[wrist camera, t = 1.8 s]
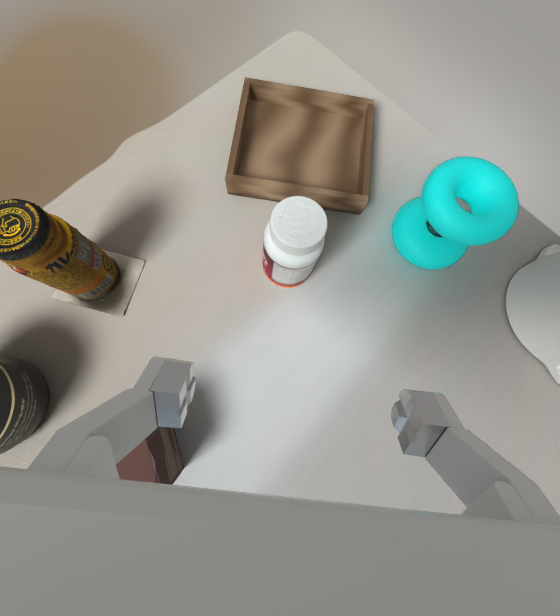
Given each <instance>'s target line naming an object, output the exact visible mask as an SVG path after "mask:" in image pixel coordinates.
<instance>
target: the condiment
mask: <svg viewBox="0 0 560 616" xmlns="http://www.w3.org/2000/svg"><path fill="white" fill-rule="evenodd" d="M0 260H1V261H3V262H5V263H6V264H7V265H8V266H9V267H10V268H12V269H13V270H14V271H16V272H18V273H20V274H23V275H25V276H27V277H29V278H32V279H34V280H37V281H39V282H42V283H44V284H46V285H49V286H51V287H53V288H56V290H55V292H54V294H53V296H52V298H53V299H57V300H61V301H64V302H68V303H72V304H76V305H79V306H83V307H87V308H91V309H95V310H98V311H102V312H106V313H110V314H114V315H117V316H121V317H122V316H123V314H124V311H125V310H126V307H127V305H128V303H129V300H130V298H131V296H132V293H133V291H134V288H135V286H136V284H137V281H138V278H139V275H140V273H141V271H142V268H143V265H144V263H145V261H144V260H141V259H137V258H133V257H130V256H125V255H122V254H118V253H114V252H110V251H106V250H103V249H101V248H99V247H98V246H97V245H96V244H95V243H93V242H92V241H90V240H89V239H87V238H86V237H85V236H83V235H82V234H81V233H80V232H79V231H78V230H77V229H76V228H74V227H72V226H71V225H69V224H68V223H67V222H66V221H64V220H63V219H61V218H59V217H57V216H55V215H52V214H49V213H47V212H45V211H44V210H43V209H42V208H40V207H39V206H37V205H36V204H34V203H31V202H28V201H25V200H20V199H11V200H3V201H0ZM120 270H122V271H120ZM122 272H124V274H123V273H122ZM102 300H103V301H102Z"/></svg>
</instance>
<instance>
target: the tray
mask: <svg viewBox="0 0 560 616" xmlns="http://www.w3.org/2000/svg"><path fill="white" fill-rule="evenodd" d="M373 115H374V100H373V99H367V98H361V97H356V96H350V95H344V94H338V93H333V92H327V91H321V90H315V89H309V88H304V87H298V86H292V85H286V84H280V83H275V82H269V81H263V80H257V79H251V78H246V77H245V80H244V85H243V90H242V96H241V101H240V106H239V111H238V116H237V121H236V126H235V132H234V137H233V142H232V147H231V152H230V157H229V162H228V167H227V173H226V178H225V180H226V186H227V192H228V194H231V195H238V196H244V197H251V198H257V199H264V200H270V201H277V202H281V201H282V200H284V199H286V198H288V197H292V196H303V197H307V198H310V199H312V200H314V201H315V202H317V203H318V204H319V205H320V206H321V207H322V209H328V210H335V211H341V212H348V213H354V214H361V212H362V211H363V209H364V207H365V206H366V204H367V203H368V199H369V182H370V166H371V149H372V132H373Z"/></svg>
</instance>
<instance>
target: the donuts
mask: <svg viewBox="0 0 560 616" xmlns="http://www.w3.org/2000/svg"><path fill="white" fill-rule="evenodd" d="M456 198H460V199H462V200H464V201H465V202H466V203H467V204H468V205H469V207H470V209H471V213H469V212H467V211H465V210H464V209H463V208H462V207H461V206H460V205H459V204H458V202H457V200H456ZM518 210H519V201H518V194H517V191H516V188H515V186H514V184H513V182H512V181H511V179H510V178H509V177H508V176H507V175H506V174H505V172H504V171H503V170H501V169H500V168H499V167H497V166H496V165H494V164H493V163H491V162H489V161H486V160H484V159H480V158H475V157H457V158H453V159H450V160H448V161H446V162H444V163H442V164H440V165H439V166H438V167H436V168H435V169H434V170H433V171H432V172H431V174H430V175H429V176H428V178H427V180H426V181H425V184H424V186H423V190H422V197H419V198H415V199H413V200H411V201H409V202H407V203H406V204H404V205H403V206H402V207H401V208H400V209H399V211H398V212H397V214H396V215H395V218H394V220H393V224H392V237H393V241H394V244H395V246H396V248H397V250H398V251H399V253H400V254H401V255H402V256H403V257H404V258H405V259H406V260H407V261H409V262H410V263H412V264H414V265H416V266H418V267H421V268H425V269H441V268H446V267H448V266H450V265H452V264H454V263H456V262H457V261H458V260H459V259H460V258H461V257H462V256H463V255H464V253H465V252H466V250H467V248H468V246H477V245H484V244H488V243H491V242H493V241H495V240H497V239H499V238H501V237H502V236H503V235H505V234H506V233H507V232H508V231H509V230H510V229H511V227H512V226H513V224H514V222H515V220H516V218H517V215H518ZM427 221H428V222H429V224H430V225H431V226H432V228H433V229H434V230H435V231H436V232H437V233H439V234H440V235H441V236H442V237H436V236H434V235H433V234H431V233H430V232H429V230H428V229H427V225H426V223H427Z"/></svg>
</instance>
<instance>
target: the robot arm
mask: <svg viewBox="0 0 560 616" xmlns="http://www.w3.org/2000/svg"><path fill="white" fill-rule="evenodd" d="M506 310H507V315H508V319H509V322H510V324H511V327H512V329H513V331H514V333H515V334H516V336H517V338H518V339H519V340H520V342H521V343H522V344H523V345H524V346H525V348H526V349H527V350H528V351H529V352H531V353H532V354H533V355H534V356H535V357H537V358H538V359H539V360H540V361H542V362H543V363H544V364H545V365H546V367H547V368H548V370H549V372H550V373H551V375H552V376H553V378H554V379H555V380H556V381H557V383H558V384H560V245H558V244H553V245H550V246H547V247H545V248H544V249H543V250H542V251H541V252H540V254H539V255H538V257H537V259H536V260H534V261H533V262H531V263H529V264H527V265H526V266H524V267H522V268H521V269H520V270H519V271H517V273H516V274H515V275H514V276H513V278H512V279H511V281H510V283H509V286H508V289H507V294H506ZM194 372H195V363H194V362H189V361H183V360H176V359H170V358H168V359H167V358H161V357H155V356H154V357H153V358H152V359H151V360H150V362H149V363H148V365H147V367H146V368H145V370H144V371H143V373H142V375H141V376H140V378H139V379H138V381H137V383H136V384H135V386H134V388H133V389H127V390H125V391H124V392H122V393H120V394H118V395H117V396H115V397H113V398H112V399H110V400H108V401H107V402H105V403H103V404H101V405H100V406H98V407H96V408H95V409H93V410H91V411H89V412H88V413H86V414H84V415H83V416H81V417H79V418H77V419H76V420H74V421H72V422H71V423H69V424H67V425H66V426H64V427H62V428H60V429H59V430H57V432H56V433H55V434H54V435H53V437H52V438H51V439H50V441H49V442H48V443H47V444H46V446H45V447H44V448H43V449H42V451H41V452H40V453H39V455H38V456H37V457H36V458H35V460H34V461H33V462H32V463H31V465H30V466H29V467H28V468H27V469H18V468H8V467H0V616H560V516H559V515H558V513H557V512H556V510H555V509H554V508H553V506H552V505H551V503H550V502H549V501H548V499H547V498H546V496H545V495H544V493H543V492H542V491H541V489H540V488H539V486H538V485H537V484H536V483H535V482H533V481H532V480H531V479H530V478H528V477H527V476H526V475H525V474H523V473H522V472H521V471H520V470H518V469H517V468H516V467H515V466H513V465H512V464H511V463H510V462H508V461H507V460H506V459H505V458H503V457H502V456H501V455H500V454H498V453H497V452H496V451H495V450H493V449H492V448H491V447H490V446H488V445H487V444H486V443H485V442H483V441H482V440H481V439H480V438H478V437H477V436H476V435H475V434H473V433H472V432H471V431H470V430H465V428H464V427H463V425H462V423H461V422H460V420H459V418H458V417H457V415H456V413H455V412H454V410H453V408H452V407H451V405H450V403H449V402H448V400H447V398H446V397H445V396H444V395H443V394H442V393H434V392H426V391H417V390H409V389H403V390H402V391H401V392H400V394H399V398H400V400H399V401H397V402H395V403H394V405H393V407H392V411H391V419H392V423H393V426H394V428H395V429H396V430H397V431H398V432H399V435H398V440H399V443H400V446H401V449H402V451H403V454H407V455H413V456H420V457H426V458H425V459H426V460H427V461H428V462H429V464H430V465H431V466H432V467H433V468H434V469H435V471H436V472H437V473H438V474H439V475H440V476H441V478H442V479H443V480H444V481H445V482H446V483H447V485H448V486H449V487H450V488H451V489H452V490H453V492H454V493H455V494H456V495H457V496H458V497H459V499H460V500H461V501H462V502H463V503H464V504H465V506H466V507H467V508H466V509H465V510H464V511H463V512H462V513H461V514H460V515H457V514H447V513H438V512H428V511H418V510H409V509H399V508H390V507H380V506H371V505H361V504H352V503H342V502H333V501H323V500H313V499H303V498H294V497H284V496H274V495H265V494H255V493H246V492H236V491H227V490H217V489H208V488H198V487H189V486H179V485H169V484H160V483H150V482H141V481H131V480H122V479H120V478H119V474H118V471H117V467H116V464H117V463H118V462H119V461H121V460H122V459H123V458H124V457H125V456H126V455H127V454H128V453H130V452H131V451H132V450H133V449H134V448H135V447H136V446H137V445H139V444H140V443H141V442H142V441H143V440H144V439H145V438H146V437H148V436H149V435H150V434H151V433H152V432H153V431H154V430H155V429H157V426H160V427H171V428H182V425H183V423H184V420H185V417H186V415H187V405H188V404H190V403H191V401H192V398H193V395H194V390H195V377H194V376H193V374H194Z"/></svg>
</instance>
